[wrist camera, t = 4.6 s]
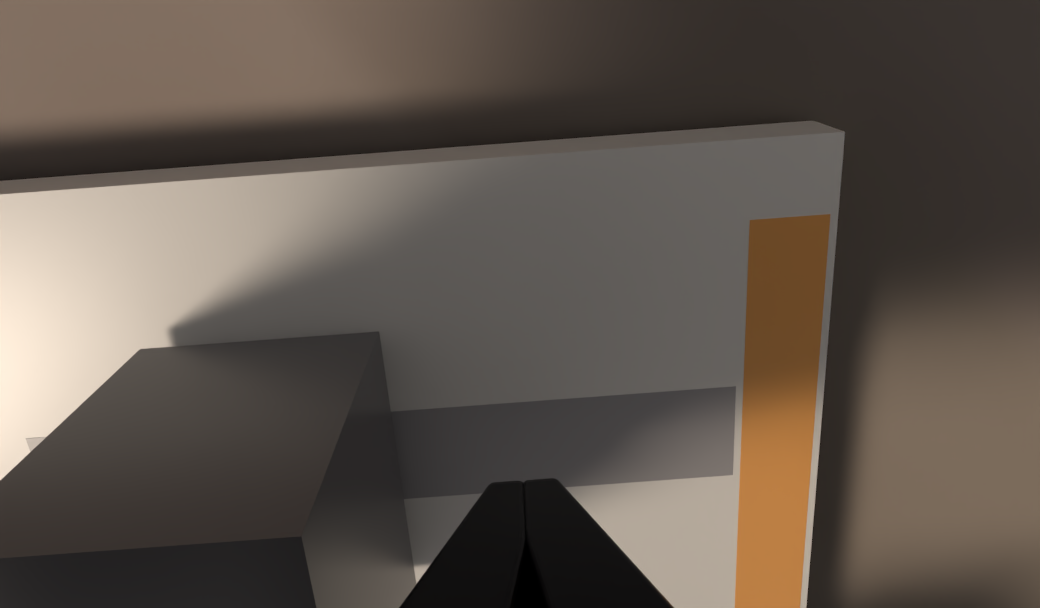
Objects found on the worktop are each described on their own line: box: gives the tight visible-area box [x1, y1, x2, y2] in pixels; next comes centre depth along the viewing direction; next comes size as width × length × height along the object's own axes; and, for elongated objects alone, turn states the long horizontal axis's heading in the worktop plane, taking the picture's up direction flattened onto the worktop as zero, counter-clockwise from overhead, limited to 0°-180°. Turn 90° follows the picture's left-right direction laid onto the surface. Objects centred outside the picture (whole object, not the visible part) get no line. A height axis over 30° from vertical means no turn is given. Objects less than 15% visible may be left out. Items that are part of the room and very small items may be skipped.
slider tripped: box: [0, 331, 416, 608], centre depth 8 cm, size 3×4×4 cm
